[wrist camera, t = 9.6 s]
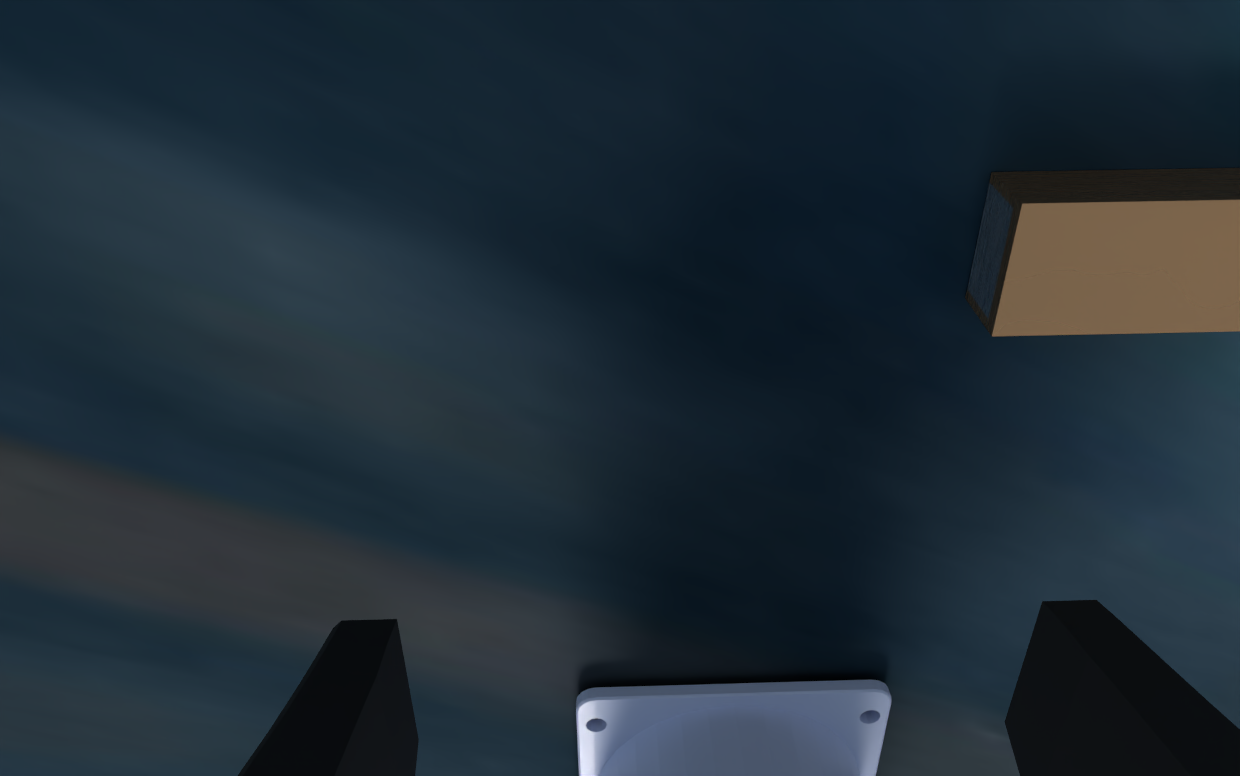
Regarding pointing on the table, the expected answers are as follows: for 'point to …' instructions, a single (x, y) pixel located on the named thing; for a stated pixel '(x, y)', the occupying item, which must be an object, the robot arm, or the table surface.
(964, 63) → the table surface
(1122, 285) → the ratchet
